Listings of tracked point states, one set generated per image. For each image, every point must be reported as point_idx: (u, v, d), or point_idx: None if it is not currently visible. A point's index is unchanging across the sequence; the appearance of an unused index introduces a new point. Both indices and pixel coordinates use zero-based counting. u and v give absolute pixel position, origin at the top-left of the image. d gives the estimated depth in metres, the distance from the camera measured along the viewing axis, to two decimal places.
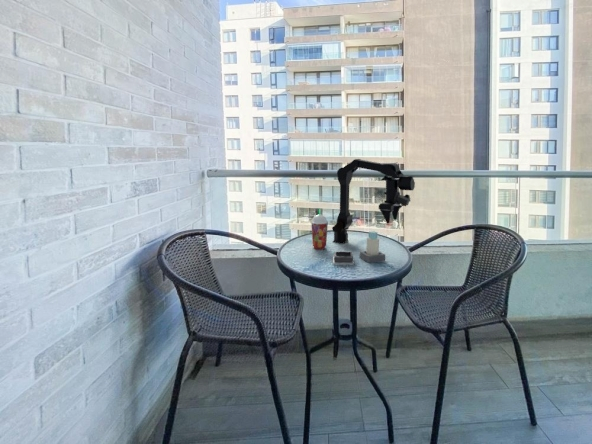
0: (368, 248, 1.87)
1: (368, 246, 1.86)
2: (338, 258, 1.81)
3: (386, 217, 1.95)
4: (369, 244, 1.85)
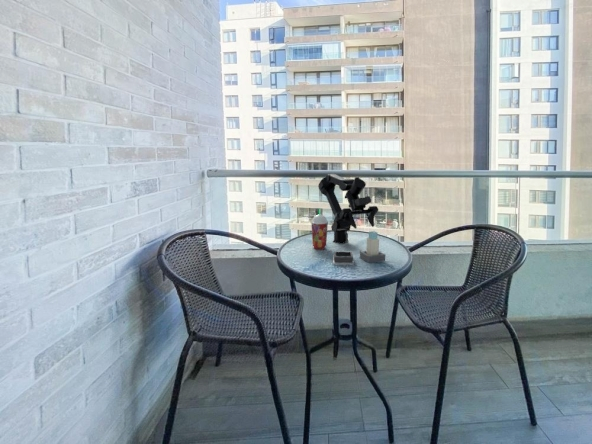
0: (368, 248, 1.87)
1: (368, 246, 1.86)
2: (338, 258, 1.81)
3: (351, 223, 1.92)
4: (369, 244, 1.85)
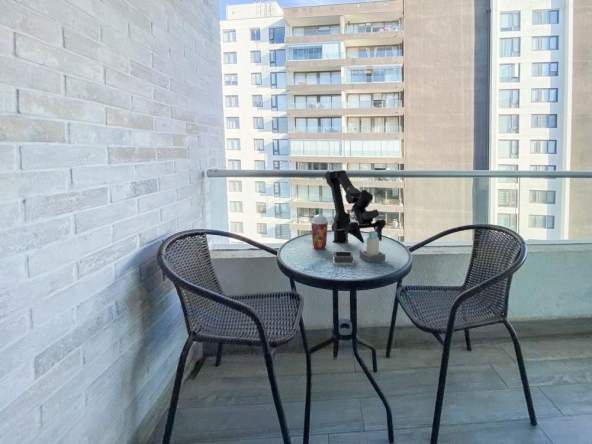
0: (368, 248, 1.87)
1: (368, 246, 1.86)
2: (338, 258, 1.81)
3: (358, 237, 1.87)
4: (369, 244, 1.85)
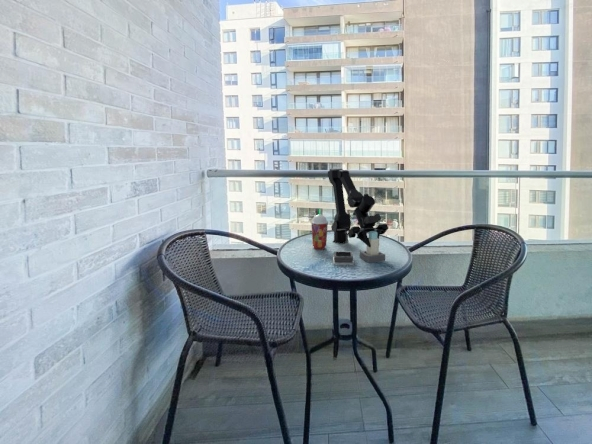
0: (368, 248, 1.87)
1: None
2: (338, 258, 1.81)
3: (365, 241, 1.86)
4: None
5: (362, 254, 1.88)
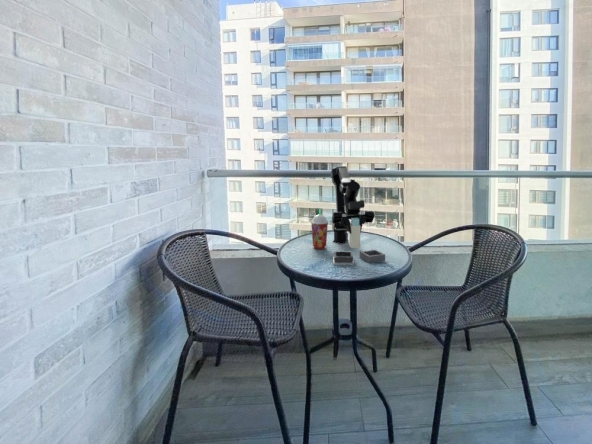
0: (350, 235, 1.83)
1: None
2: (338, 258, 1.81)
3: (347, 228, 1.83)
4: None
5: (362, 254, 1.88)
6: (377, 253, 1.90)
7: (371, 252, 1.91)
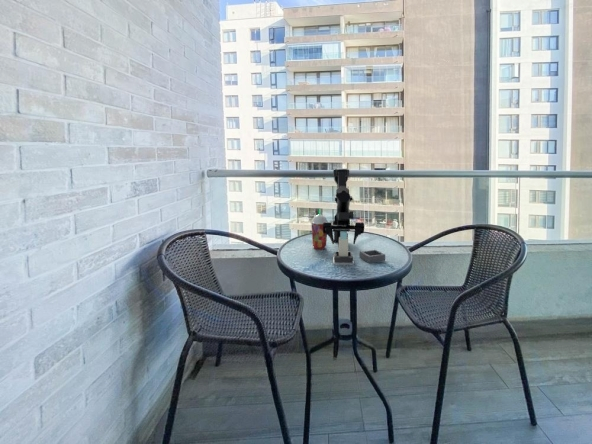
0: None
1: None
2: (338, 258, 1.81)
3: (330, 238, 1.84)
4: (339, 244, 1.83)
5: (362, 254, 1.88)
6: (377, 253, 1.90)
7: (371, 252, 1.91)
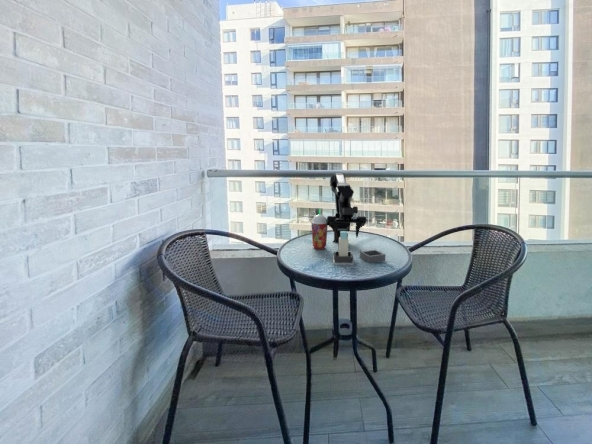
0: None
1: None
2: (338, 258, 1.81)
3: (335, 231, 1.93)
4: (339, 244, 1.83)
5: (362, 254, 1.88)
6: (377, 253, 1.90)
7: (371, 252, 1.91)
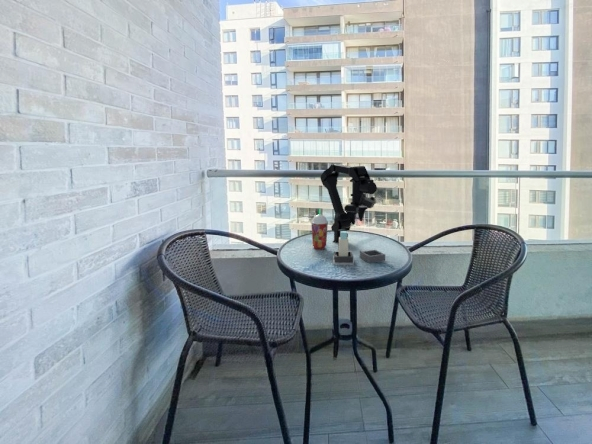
0: None
1: None
2: (338, 258, 1.81)
3: (351, 218, 1.99)
4: (339, 244, 1.83)
5: (362, 254, 1.88)
6: (377, 253, 1.90)
7: (371, 252, 1.91)
